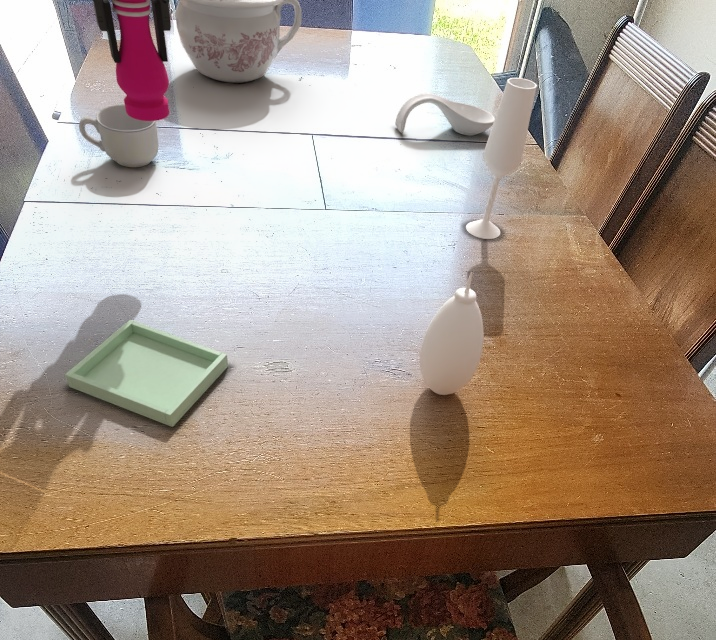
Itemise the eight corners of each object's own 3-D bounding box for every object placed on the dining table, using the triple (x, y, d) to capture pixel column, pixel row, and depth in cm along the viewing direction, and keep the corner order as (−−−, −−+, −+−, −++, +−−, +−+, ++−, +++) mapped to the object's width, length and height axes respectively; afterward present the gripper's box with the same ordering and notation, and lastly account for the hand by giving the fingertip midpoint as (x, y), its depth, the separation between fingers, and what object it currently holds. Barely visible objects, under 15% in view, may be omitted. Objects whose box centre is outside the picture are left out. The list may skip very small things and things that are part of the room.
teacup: (165, 151, 123) (159, 106, 116) (158, 175, 116) (151, 129, 110) (94, 146, 121) (83, 100, 115) (82, 170, 114) (71, 123, 108)
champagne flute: (465, 235, 113) (501, 87, 94) (466, 218, 117) (501, 72, 98) (500, 241, 113) (543, 93, 94) (500, 224, 117) (541, 79, 98)
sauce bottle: (451, 367, 88) (483, 251, 74) (478, 401, 84) (517, 285, 70) (404, 377, 86) (427, 259, 72) (429, 413, 82) (459, 295, 68)
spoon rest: (480, 120, 149) (488, 86, 143) (499, 140, 142) (508, 106, 137) (389, 120, 143) (394, 85, 138) (405, 141, 137) (410, 106, 131)
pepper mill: (127, 124, 87) (94, -63, 72) (118, 104, 91) (84, -77, 75) (177, 121, 90) (155, -60, 74) (167, 102, 93) (143, -74, 78)
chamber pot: (153, 75, 147) (136, -37, 130) (212, 47, 163) (204, -56, 147) (255, 103, 142) (251, -10, 126) (306, 72, 158) (308, -32, 142)
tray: (69, 387, 78) (64, 374, 77) (132, 331, 86) (129, 319, 85) (172, 427, 76) (170, 415, 74) (228, 366, 84) (227, 354, 82)
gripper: (11, -197, 62) (72, 70, 80) (193, -178, 68) (212, 66, 86) (5, -205, 66) (65, 50, 84) (178, -187, 72) (199, 48, 90)
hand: (139, 58), depth 85 cm, fingers closed on pepper mill, 6 cm apart
